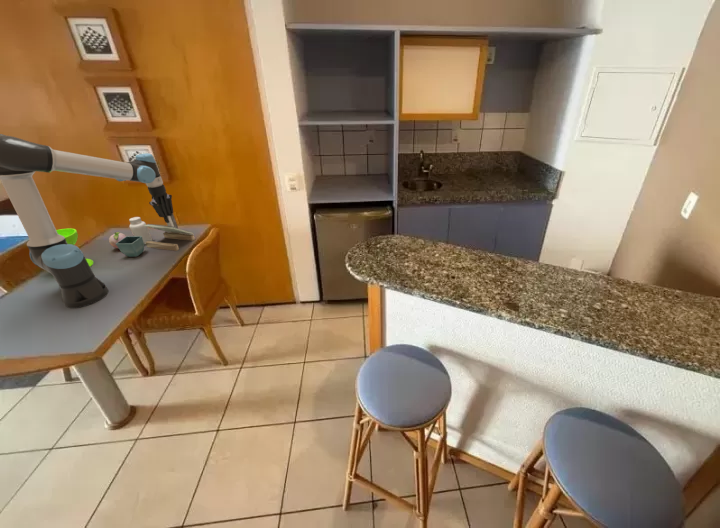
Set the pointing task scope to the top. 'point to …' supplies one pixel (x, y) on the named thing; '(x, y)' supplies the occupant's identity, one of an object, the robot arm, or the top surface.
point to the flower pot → (131, 246)
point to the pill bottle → (140, 229)
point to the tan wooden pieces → (173, 236)
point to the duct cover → (168, 229)
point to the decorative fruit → (116, 238)
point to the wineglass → (71, 238)
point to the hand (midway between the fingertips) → (171, 227)
